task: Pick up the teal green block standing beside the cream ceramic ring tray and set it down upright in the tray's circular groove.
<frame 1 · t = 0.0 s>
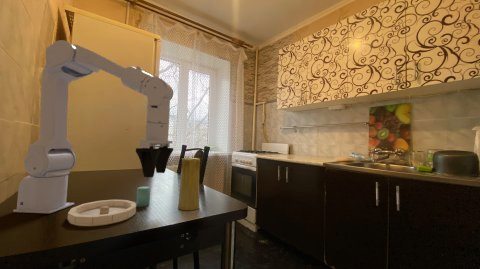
hand: (154, 174, 56), 10 cm above the table, tool pointing down, fingers open, 7 cm apart
teal green block: (142, 204, 63), on the table
vase: (188, 208, 62), on the table
ring tray: (104, 215, 53), on the table
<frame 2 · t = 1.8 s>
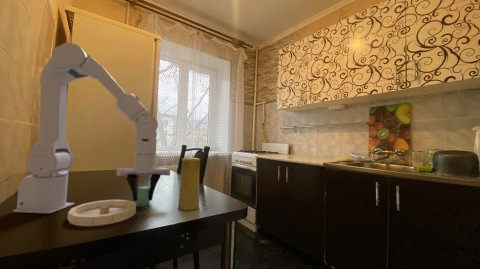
hand: (143, 199, 63), 1 cm above the table, tool pointing down, fingers closed on teal green block, 4 cm apart
teal green block: (142, 204, 63), on the table, touching gripper
everything else where it was.
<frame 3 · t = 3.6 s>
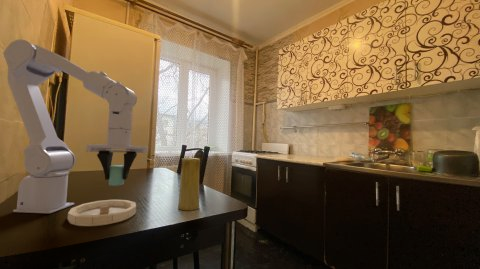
hand: (116, 179, 58), 8 cm above the table, tool pointing down, fingers closed on teal green block, 4 cm apart
teal green block: (116, 184, 58), point 7 cm above the table, touching gripper
everything else where it was.
when the fingers open (3 cm above the table, at t = 5.1 s): teal green block stays where it is, resting on ring tray.
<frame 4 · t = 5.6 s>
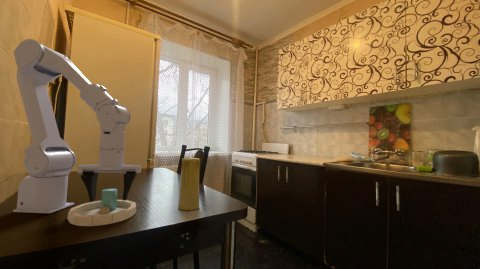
hand: (109, 200, 56), 3 cm above the table, tool pointing down, fingers open, 7 cm apart
teal green block: (108, 209, 56), resting on ring tray
everything else where it was.
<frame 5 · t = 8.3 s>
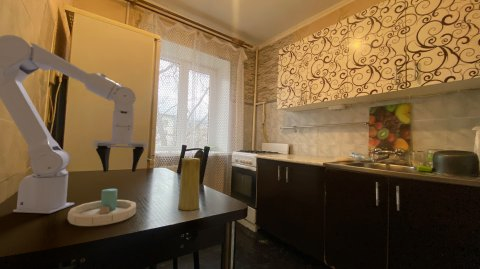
hand: (120, 171, 64), 9 cm above the table, tool pointing down, fingers open, 7 cm apart
nothing on the table moved.
at the end: teal green block inside the target area on the ring tray (3.4 cm from its centre), point 0.5 cm above the ring tray's base; teal green block tilted 0°; the gripper is holding nothing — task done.
